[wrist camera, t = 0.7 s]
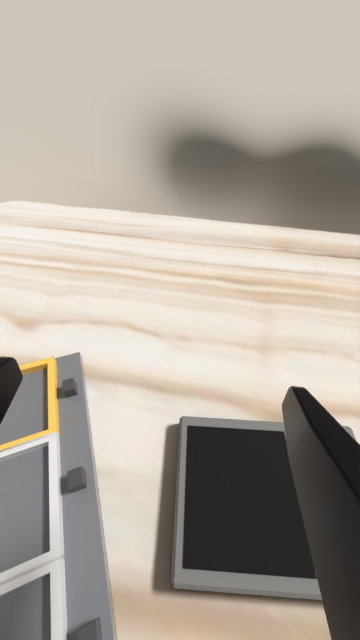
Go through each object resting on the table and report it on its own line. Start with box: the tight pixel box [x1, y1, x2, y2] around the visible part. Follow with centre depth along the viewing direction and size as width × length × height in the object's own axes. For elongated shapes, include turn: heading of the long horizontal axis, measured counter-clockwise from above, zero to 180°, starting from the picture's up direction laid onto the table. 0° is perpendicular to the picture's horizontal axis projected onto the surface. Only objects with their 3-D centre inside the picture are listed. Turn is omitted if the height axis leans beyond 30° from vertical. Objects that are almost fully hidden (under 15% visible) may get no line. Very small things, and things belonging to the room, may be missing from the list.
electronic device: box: [171, 416, 356, 600], centre depth 19 cm, size 10×2×15 cm
